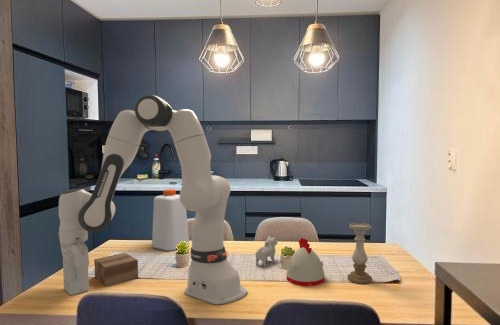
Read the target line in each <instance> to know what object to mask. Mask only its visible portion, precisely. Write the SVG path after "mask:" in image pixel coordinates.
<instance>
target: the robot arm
mask: <svg viewBox="0 0 500 325" xmlns="http://www.w3.org/2000/svg"><path fill="white" fill-rule="evenodd" d="M147 132H149V133H165V132H169V133H170V135H171V138H172V141H173V144H174V147H175V150H176V153H177V157H178V161H179V163H180V164H179V165H180V168H181V183H182V184H181V185H182V186H181V189H180V190H179V195H180V201H181V204H182V205H183V206H184V208H186V211H190V212H195V216H194V219H193V221H192V224H191V248H190V259H191V262H190V264H189V266H188V270H187V284H186V286H187V287H186V288H185V289H184V294H185V295H187V296H191V297H193V298H195V299H198V300H202V301H203V302H206V303H210V304H213V305H223V304H228V303H232V302H234V301H237V300H239V299H242V298H244V297H245V296H247V294H248V293H249V292H248V289H247V288H245V287H244V286H242V285H241V279H240V275H239V271H238V269H235V268H234V267H233V265H232V264H231V262H230V261H229V260H228V256H229V254H228V253H229V252H228V251H226V247H225V245H224V225H225V224H224V223H225V222H224V221H225V215H226V210H227V204H228V200H229V199H228V198H229V197H230V194H231V185H230V183H229V181H228V180H227V179H226V178H225V177H223V176H219V175H216V174H215V175H212V171H211V160H212V154H211V149H210V147H209V145H208V142H207V139H206V135H205V132H204V129H203V127H202V125H201V122H200V121H199V118H198V117H197V115H196V113H195V112H194V111H193V110H192V109H188V108H181V109H177V110H176V109H174V108H173V107H172V106H171V105H170V103H168V102H167V101H166V100H165V99H163V98H161V97H159V96H157V95H154V94H147V95H143V96H142V97H140V98H139V99H138V100H137V101H136V103H135V106H134V110H131V109H124V110H121V111H120V112H119V113H118V114H117V115H116V117H115V119H114V121H113V123H112V125H111V128H110V129H109V132H108V135H107V138H106V141H105V145H104V149H103V157H102V161H101V162H102V163H101V169H100V171H99V175H98V178H97V181H96V183H95V186H94V189H93V191H92V193H91V192H89V191H86V190H85V189H84V188H73V189H70V190H66V191H64V192H63V193H61V195H59V198H58V218H59V221H60V222H59V223H60V224H59V228H58V229H59V231H58V232H57V238H58V239H59V243H60V251H61V256H62V257H63V252H67V253H68V254H69V255H71V256H72V260H73V265H74V266H75V267H76V270H77V273H76V278H77V279H82V278H83V272H84V268H87V267H88V268H89V266H90V258H89V256H90V255H89V248H88V246H87V244H86V243H85V242H86V241H88V239H89V233H93V234H94V233H101V232H103V231H105V230H106V229H107V228H108V227H109V226H110V223H111V221H112V220H113V218H114V217H115V216H114V215H115V214H116V210H117V209H116V205H115V203H114V201H113V198H114V195H115V191H116V189H117V186H118V183H119V181H120V178H121V177H122V175H123V173H124V172H126V170H127V169H128V168H129V166H131V164H132V163H133V161H134V159H135V157H136V156H137V153H138V150H139V148H140V146H141V143H142V139H143V137H144V135H145V134H146V133H147ZM82 254H83V255H82Z"/></svg>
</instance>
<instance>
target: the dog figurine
mask: <svg viewBox="0 0 500 325" xmlns="http://www.w3.org/2000/svg"><path fill="white" fill-rule="evenodd" d="M277 245H278V240H277V238H276V237H275V236H273V237H271V235H268V237H267V238H266V241H265V242H264V245H263V247H262V246H261V247H259V249H257V250H256V251H255V266H259V261H261V262H262V263H263V264H262V265H263V268H266V267H267V262H268V258H269V257H270V259H271V262H272V263H273V264H274V263H275V264H276V260H275V254H276V246H277Z"/></svg>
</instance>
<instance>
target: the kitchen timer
mask: <svg viewBox="0 0 500 325" xmlns="http://www.w3.org/2000/svg"><path fill="white" fill-rule="evenodd" d="M308 240H309V239H306V238H303V237H300V239H299V240H298V245H299V249H297V250H296V251H295V252H294V253H293V255H292V256H291V257H290V260H287V263H286V264H287V266H286V281H287V282H288V283H290V284H292V285H294V286H295V285H296V286H300V287H301V286H302V287H316V286H319V285H321V284H324V282H325V272H324V268H323V267H324V262H323V260H320V257H319V256H318V254H317V253H316V252H315V251H314V250H313V249H312V247H311V246H310V245H311V244H310V243H308Z"/></svg>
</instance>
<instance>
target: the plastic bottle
mask: <svg viewBox="0 0 500 325" xmlns="http://www.w3.org/2000/svg"><path fill="white" fill-rule="evenodd" d="M152 213H153V214H152V215H153V216H152V233H151V234H152V236H151V237H152V238H151V239H152V240H151V245H152V248H154V249H155V250H156V249H157V250H161V251H166V252H172V251H177V250H176V246H177V244H178V243H179V242H180V241H186V242H188V243H190V239H189V238H190V237H189V228H188V226H189V225H188V217H187V214H188V213H187V209H186V208H184V206H183V205H182V204H181V201H180V194H177V192H176V189H171V188H170V189H169V188H167V189H163V191H162V194H161V195H157V196H155V197H154V199H153V212H152Z"/></svg>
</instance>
